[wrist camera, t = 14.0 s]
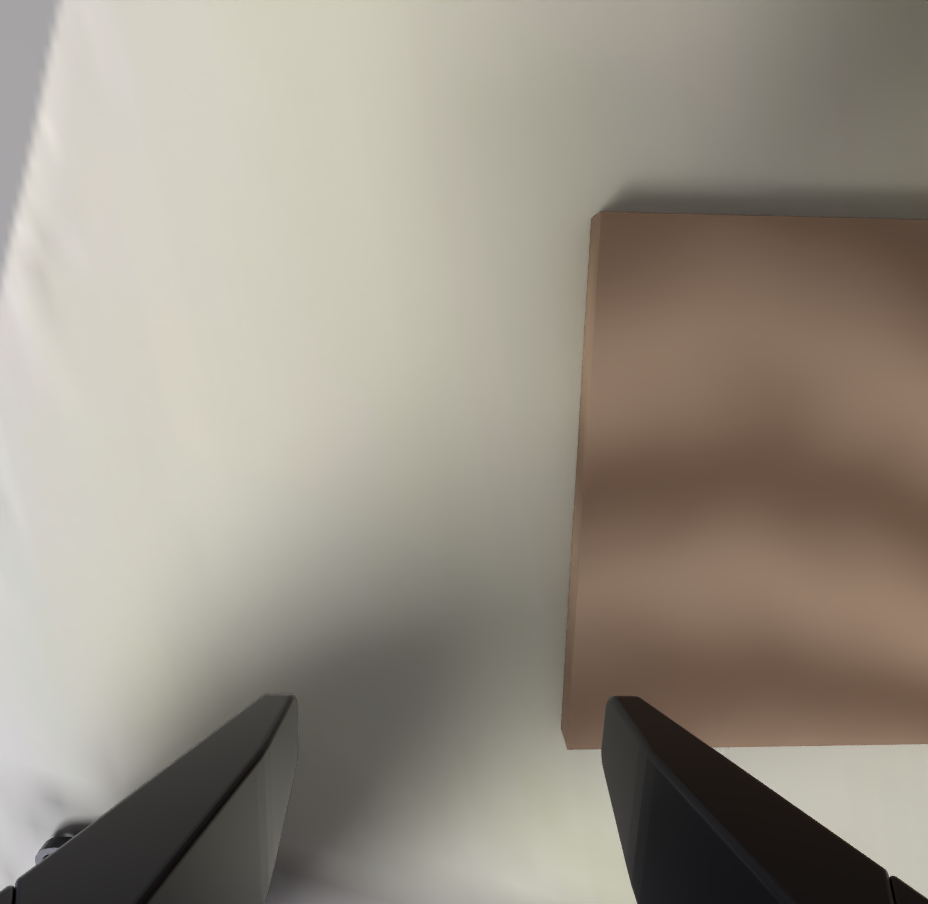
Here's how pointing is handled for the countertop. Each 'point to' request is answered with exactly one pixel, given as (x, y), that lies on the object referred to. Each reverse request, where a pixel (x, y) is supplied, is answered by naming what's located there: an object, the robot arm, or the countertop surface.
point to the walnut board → (753, 480)
